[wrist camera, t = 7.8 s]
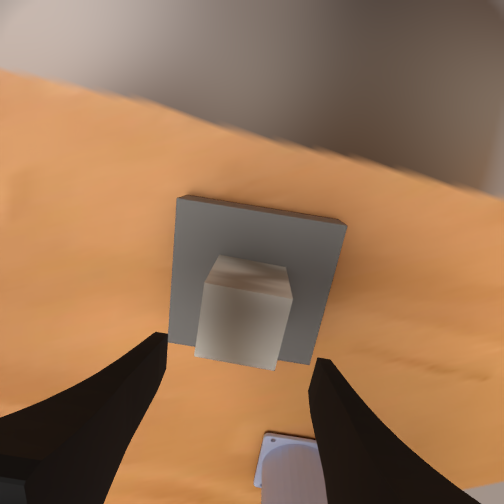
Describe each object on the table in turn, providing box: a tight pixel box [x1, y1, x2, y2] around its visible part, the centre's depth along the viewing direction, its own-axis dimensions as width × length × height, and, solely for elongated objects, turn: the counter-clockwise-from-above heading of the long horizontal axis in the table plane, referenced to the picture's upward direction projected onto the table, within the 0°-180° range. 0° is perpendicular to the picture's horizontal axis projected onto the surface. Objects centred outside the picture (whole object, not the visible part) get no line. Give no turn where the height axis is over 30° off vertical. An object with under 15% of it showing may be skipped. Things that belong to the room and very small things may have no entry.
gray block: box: [194, 255, 293, 371], centre depth 18 cm, size 5×5×5 cm
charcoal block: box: [168, 195, 347, 365], centre depth 21 cm, size 12×12×3 cm
